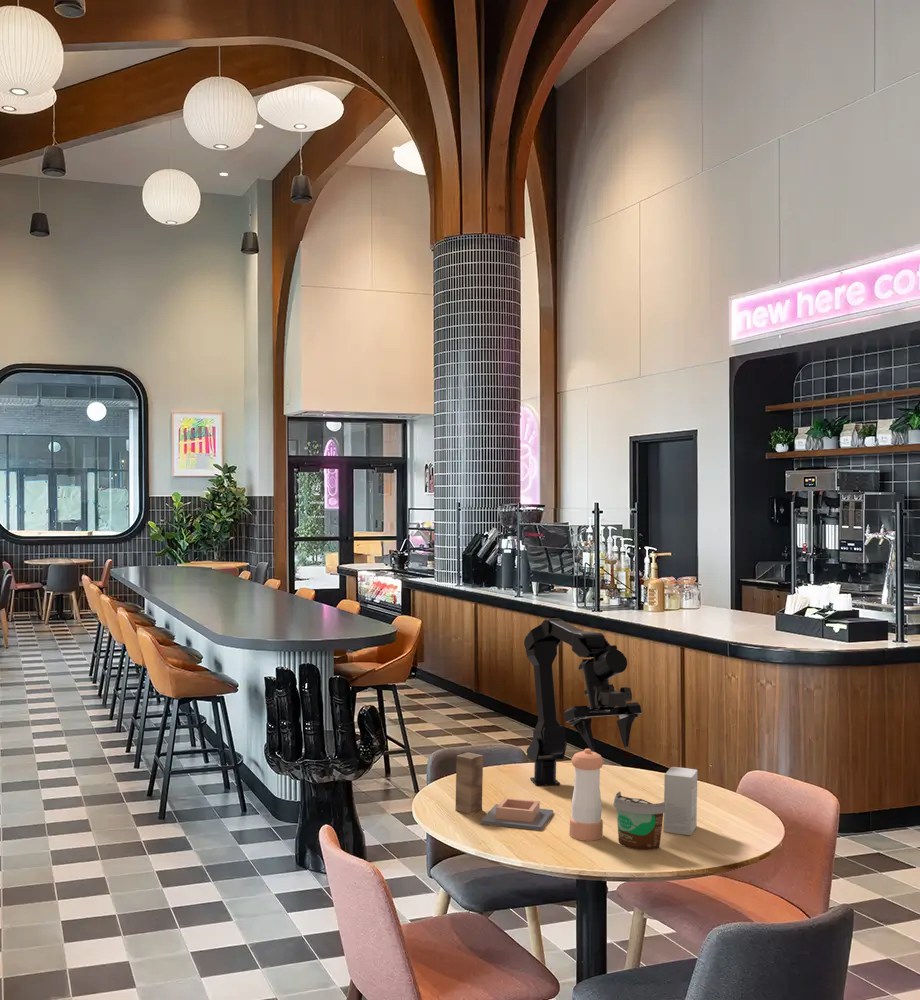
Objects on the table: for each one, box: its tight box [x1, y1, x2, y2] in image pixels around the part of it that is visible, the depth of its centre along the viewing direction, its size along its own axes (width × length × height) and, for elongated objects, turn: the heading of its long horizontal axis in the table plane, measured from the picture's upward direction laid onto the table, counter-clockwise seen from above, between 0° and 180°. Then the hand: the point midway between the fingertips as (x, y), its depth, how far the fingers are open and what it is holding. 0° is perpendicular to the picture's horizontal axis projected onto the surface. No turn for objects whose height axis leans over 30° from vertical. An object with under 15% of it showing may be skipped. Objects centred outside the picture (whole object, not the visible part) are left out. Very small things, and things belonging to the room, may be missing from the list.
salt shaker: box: [568, 748, 604, 842], centre depth 232 cm, size 7×7×19 cm
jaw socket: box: [480, 797, 554, 832], centre depth 244 cm, size 14×14×3 cm
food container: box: [613, 791, 666, 851], centre depth 226 cm, size 12×6×10 cm, turn 47°
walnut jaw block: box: [454, 752, 484, 815], centre depth 250 cm, size 4×4×13 cm
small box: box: [663, 766, 698, 836], centre depth 239 cm, size 8×6×13 cm
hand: (609, 748), depth 247 cm, fingers open, 9 cm apart
